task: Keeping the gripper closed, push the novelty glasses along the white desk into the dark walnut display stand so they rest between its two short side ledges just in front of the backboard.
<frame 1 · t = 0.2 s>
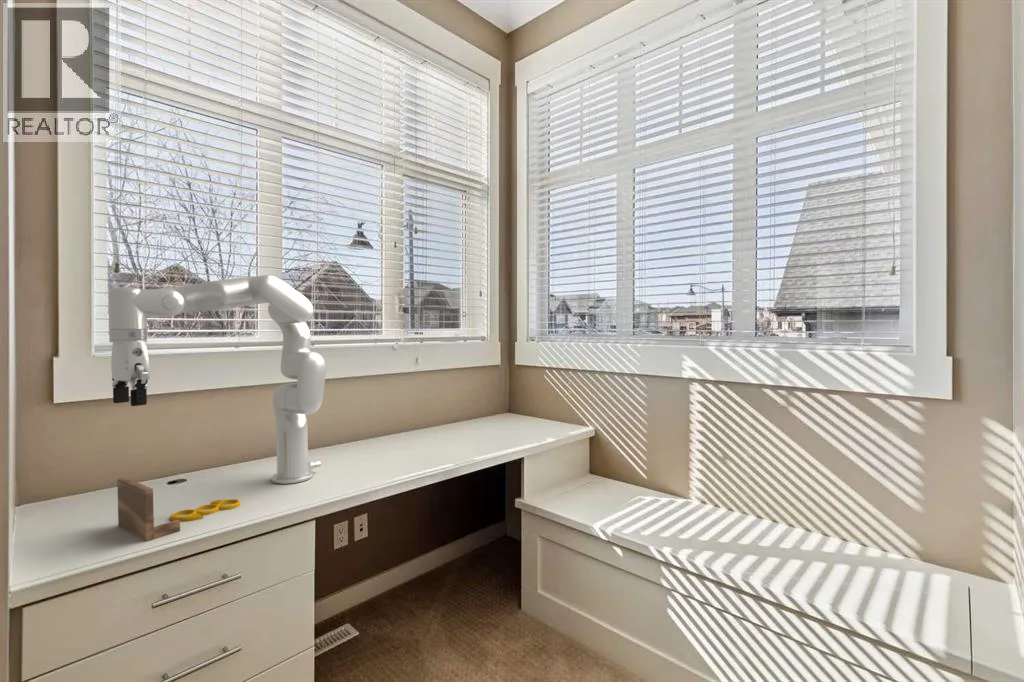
hand: (129, 403, 123), 31 cm above the table, tool pointing down, fingers open, 9 cm apart
display stand: (164, 523, 123), on the table
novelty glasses: (206, 513, 132), on the table
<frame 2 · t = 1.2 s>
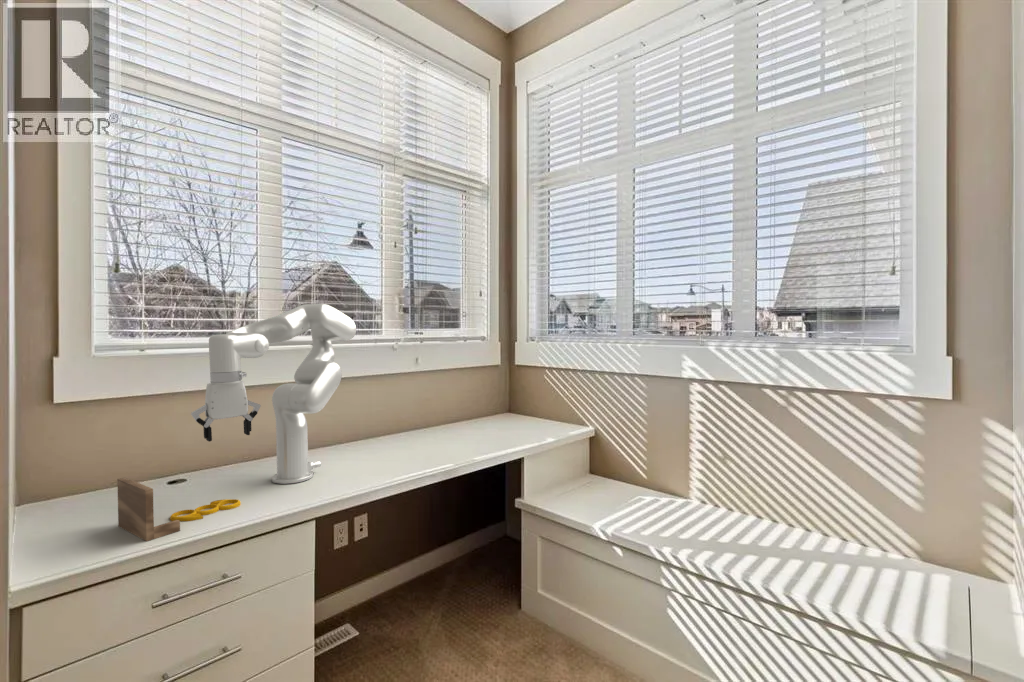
hand: (228, 437, 138), 19 cm above the table, tool pointing down, fingers open, 9 cm apart
nothing on the table moved.
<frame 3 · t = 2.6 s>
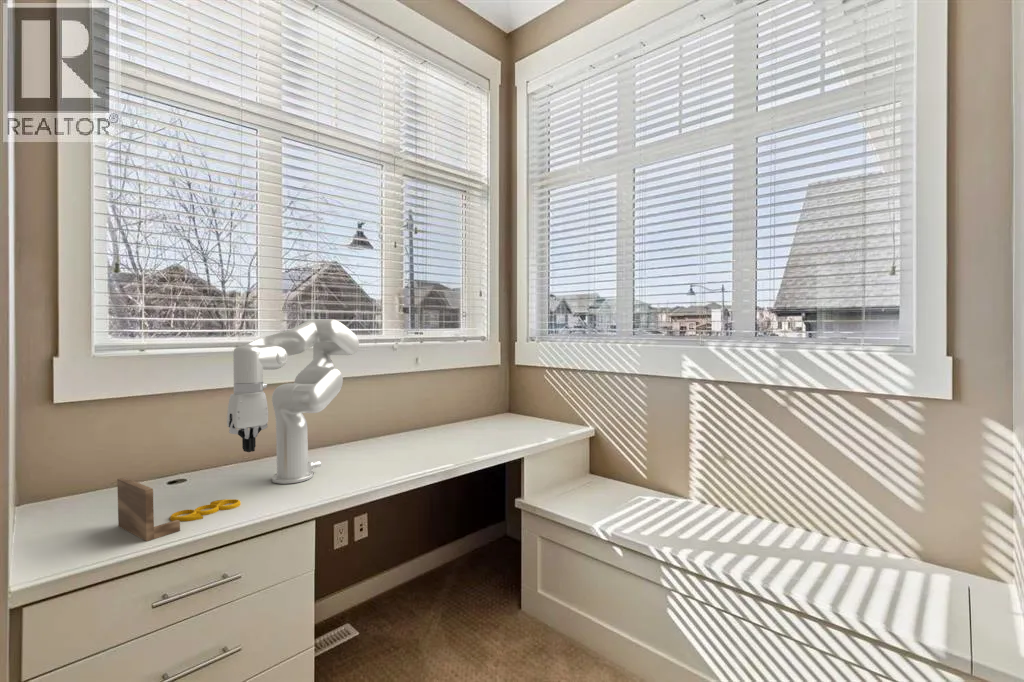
hand: (249, 451, 141), 14 cm above the table, tool pointing down, fingers closed
nothing on the table moved.
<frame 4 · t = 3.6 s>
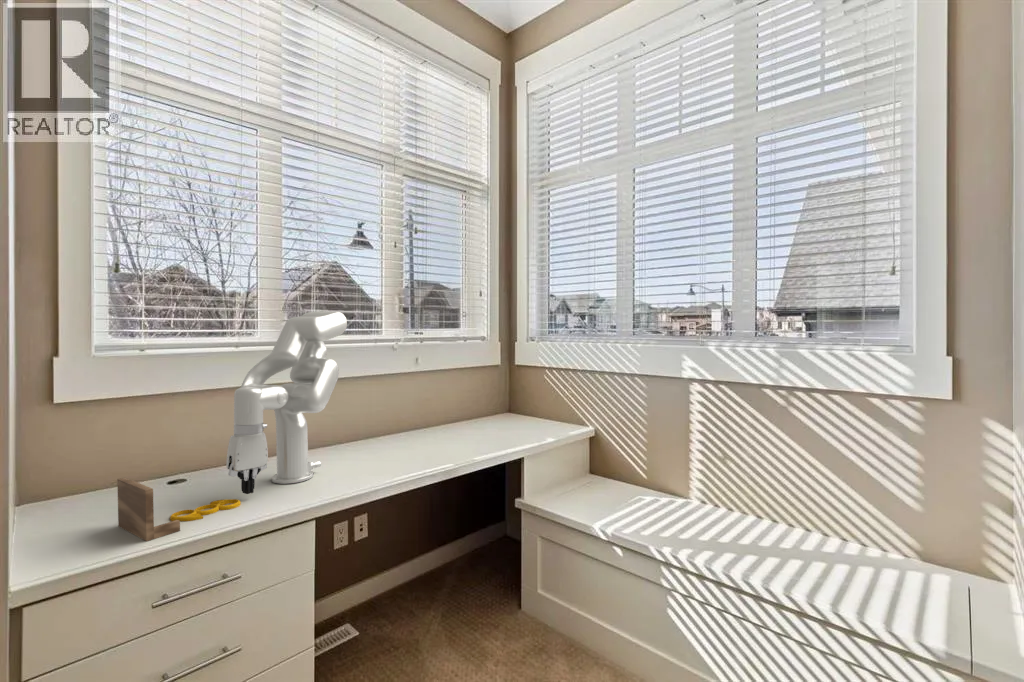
hand: (247, 492, 141), 2 cm above the table, tool pointing down, fingers closed
nothing on the table moved.
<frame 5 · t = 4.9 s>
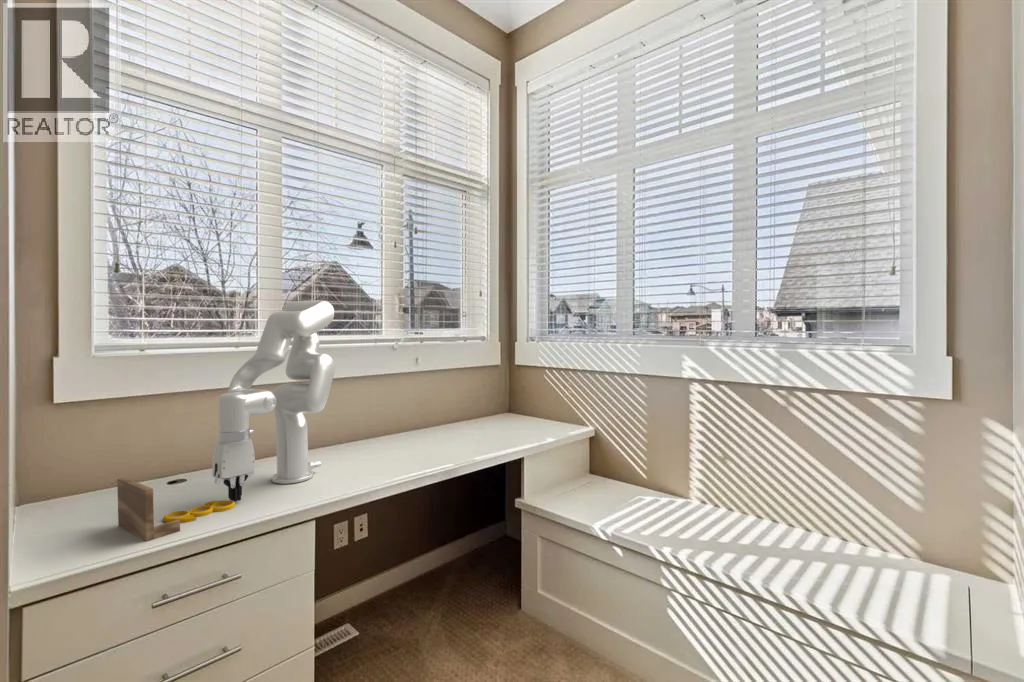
hand: (235, 500, 138), 1 cm above the table, tool pointing down, fingers closed
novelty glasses: (200, 515, 131), on the table, touching gripper
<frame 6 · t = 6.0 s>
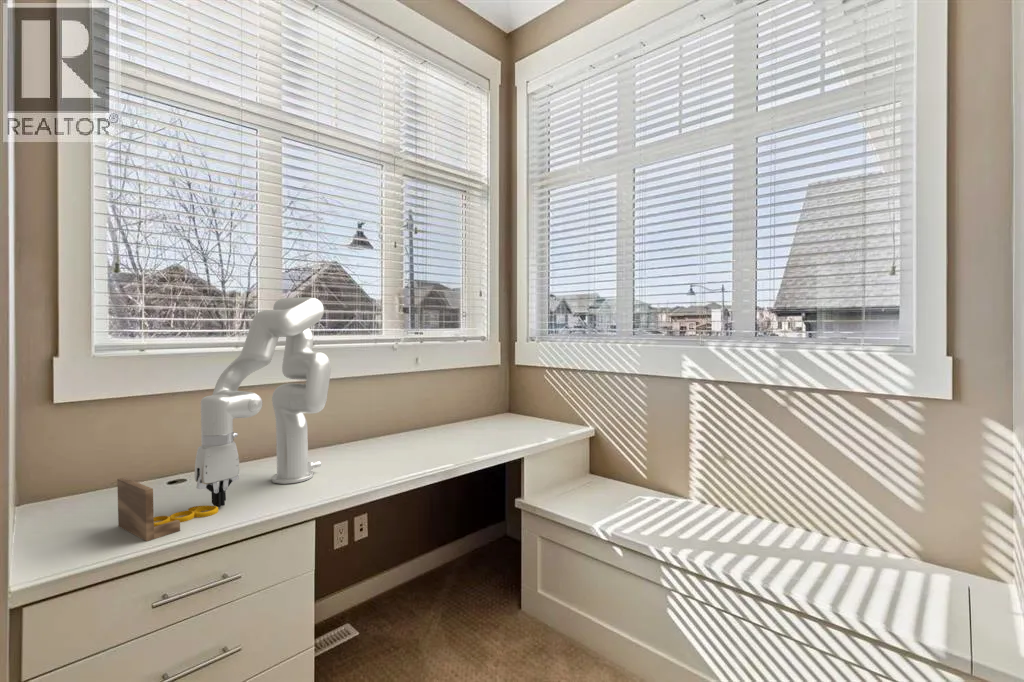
hand: (218, 505, 134), 1 cm above the table, tool pointing down, fingers closed
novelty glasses: (182, 520, 127), on the table, touching gripper
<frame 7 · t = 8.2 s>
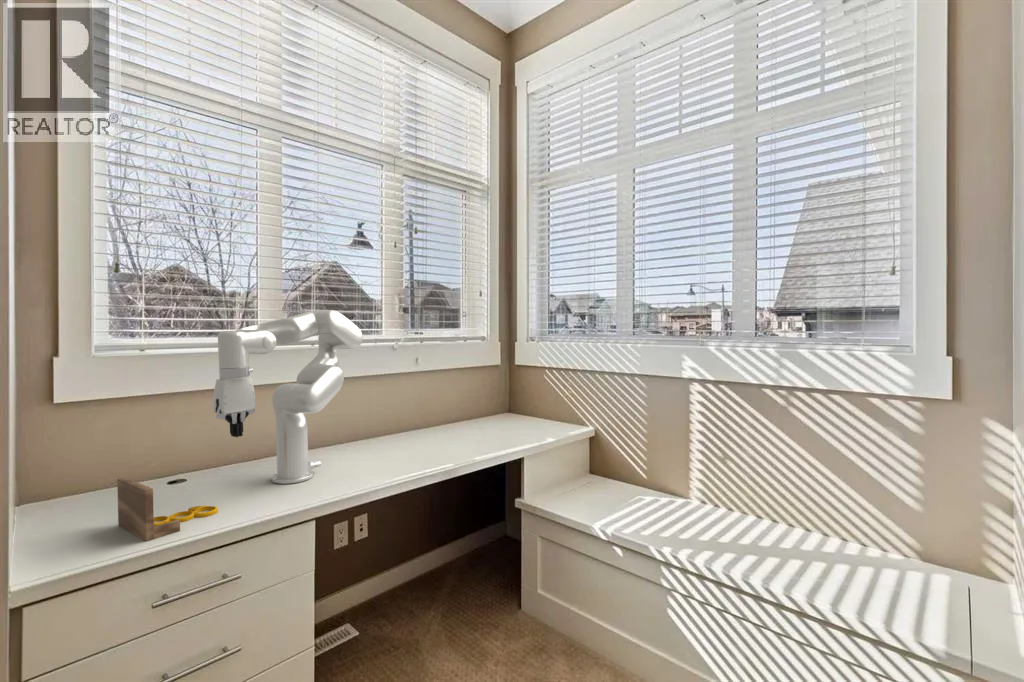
hand: (236, 436, 141), 19 cm above the table, tool pointing down, fingers closed
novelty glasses: (181, 520, 127), on the table
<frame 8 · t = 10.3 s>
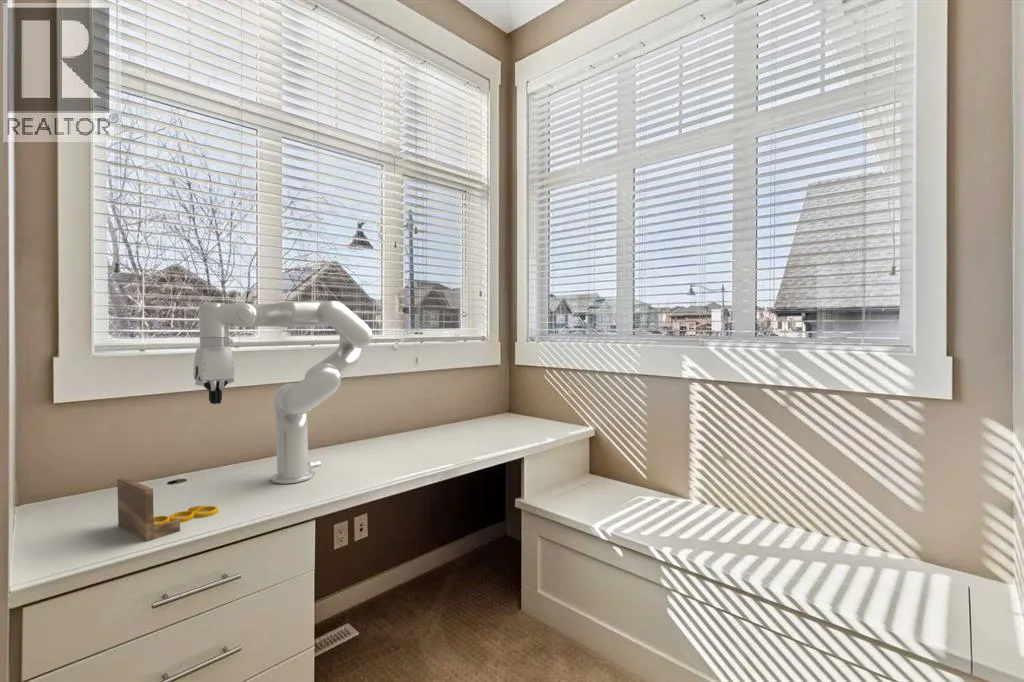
hand: (215, 403, 148), 27 cm above the table, tool pointing down, fingers closed
nothing on the table moved.
at the end: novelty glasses 0.3 cm from the target spot, on the table; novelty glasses moved 6.1 cm from its start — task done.
